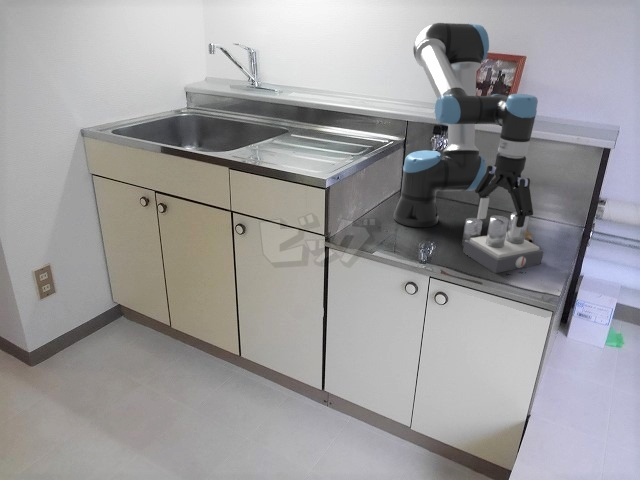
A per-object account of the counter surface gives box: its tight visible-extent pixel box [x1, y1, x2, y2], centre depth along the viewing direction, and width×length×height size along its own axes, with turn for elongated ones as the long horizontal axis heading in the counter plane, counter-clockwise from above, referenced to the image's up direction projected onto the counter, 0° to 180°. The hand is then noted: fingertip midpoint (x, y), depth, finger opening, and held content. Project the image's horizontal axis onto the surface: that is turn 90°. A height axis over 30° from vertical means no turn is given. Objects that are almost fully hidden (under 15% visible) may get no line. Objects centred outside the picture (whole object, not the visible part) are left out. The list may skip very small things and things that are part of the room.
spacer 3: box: [506, 211, 530, 244], centre depth 149 cm, size 5×5×8 cm
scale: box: [462, 232, 545, 274], centre depth 150 cm, size 15×17×5 cm
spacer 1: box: [461, 217, 483, 247], centre depth 158 cm, size 5×5×8 cm
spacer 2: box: [486, 214, 510, 248], centre depth 146 cm, size 5×5×8 cm
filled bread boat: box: [508, 224, 534, 244], centre depth 164 cm, size 5×14×4 cm, turn 3°
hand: (497, 227), depth 146 cm, fingers open, 13 cm apart
